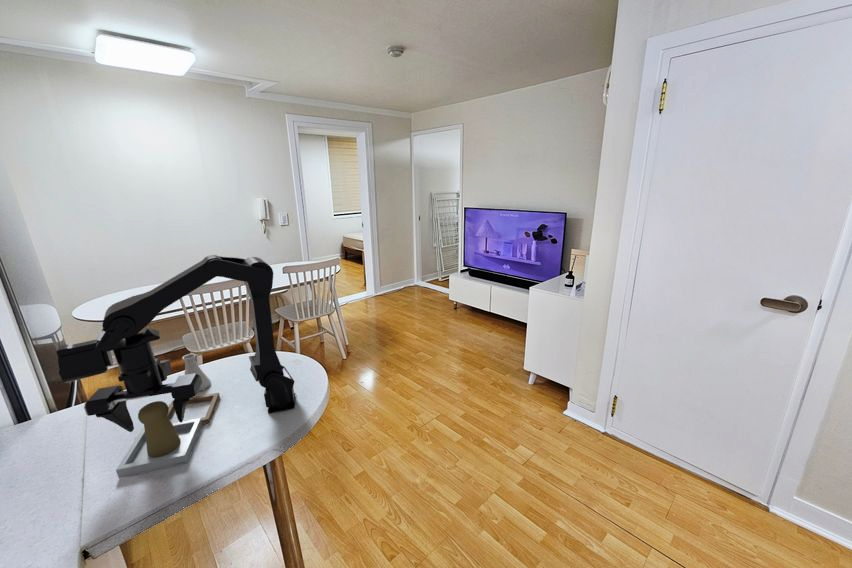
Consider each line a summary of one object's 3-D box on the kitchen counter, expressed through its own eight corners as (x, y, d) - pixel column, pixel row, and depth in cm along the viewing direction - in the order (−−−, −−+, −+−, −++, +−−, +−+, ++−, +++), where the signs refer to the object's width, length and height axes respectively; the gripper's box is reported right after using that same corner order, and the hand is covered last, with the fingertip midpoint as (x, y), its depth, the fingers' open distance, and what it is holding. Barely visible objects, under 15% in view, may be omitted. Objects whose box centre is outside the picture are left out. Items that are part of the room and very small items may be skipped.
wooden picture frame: (220, 397, 94) (218, 392, 94) (209, 423, 85) (208, 418, 84) (173, 405, 91) (172, 400, 91) (156, 434, 81) (155, 429, 81)
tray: (202, 425, 84) (200, 417, 83) (187, 463, 73) (184, 455, 73) (144, 436, 81) (141, 429, 80) (119, 478, 70) (115, 470, 69)
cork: (163, 459, 73) (150, 417, 70) (140, 455, 75) (125, 413, 71) (187, 438, 79) (175, 398, 76) (165, 435, 80) (152, 395, 77)
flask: (204, 376, 104) (197, 347, 101) (215, 385, 100) (208, 354, 97) (177, 388, 98) (168, 357, 95) (188, 397, 94) (179, 366, 91)
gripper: (201, 338, 80) (214, 395, 85) (102, 351, 74) (123, 411, 79) (185, 363, 70) (202, 425, 75) (70, 380, 64) (96, 446, 69)
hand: (157, 425), depth 75 cm, fingers open, 9 cm apart
